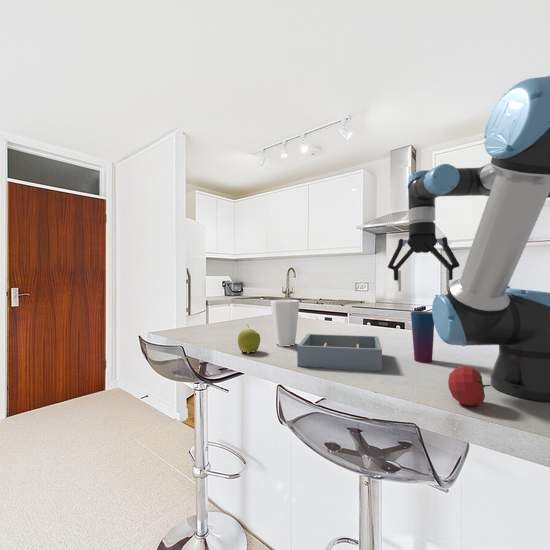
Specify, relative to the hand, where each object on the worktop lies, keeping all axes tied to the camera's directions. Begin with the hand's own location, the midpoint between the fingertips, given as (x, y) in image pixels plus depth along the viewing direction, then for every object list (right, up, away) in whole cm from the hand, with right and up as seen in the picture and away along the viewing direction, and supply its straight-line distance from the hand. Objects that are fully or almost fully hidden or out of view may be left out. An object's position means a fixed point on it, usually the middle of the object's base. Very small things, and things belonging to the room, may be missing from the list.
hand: (422, 291), depth 102 cm
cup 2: (0, -22, 0) cm, 22 cm away
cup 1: (-42, -22, +25) cm, 54 cm away
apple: (-55, -23, +14) cm, 61 cm away
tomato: (-6, -22, -34) cm, 41 cm away
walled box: (-25, -22, +2) cm, 33 cm away
